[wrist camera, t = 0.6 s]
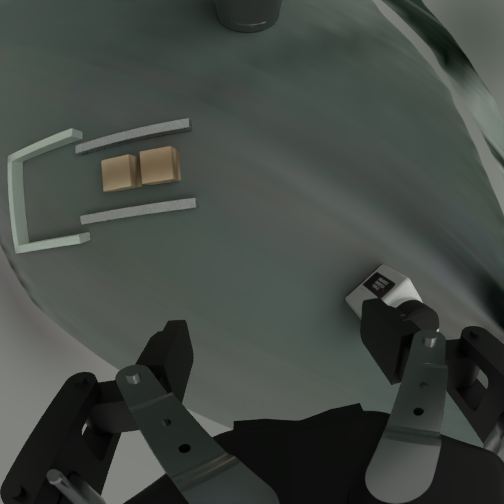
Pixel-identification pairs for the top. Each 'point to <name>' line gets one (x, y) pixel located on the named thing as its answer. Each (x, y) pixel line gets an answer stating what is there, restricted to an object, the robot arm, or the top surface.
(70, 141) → the frame
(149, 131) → the slot rails
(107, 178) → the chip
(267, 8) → the robot arm
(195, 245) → the top surface
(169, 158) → the tan cube
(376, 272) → the container
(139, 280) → the top surface
